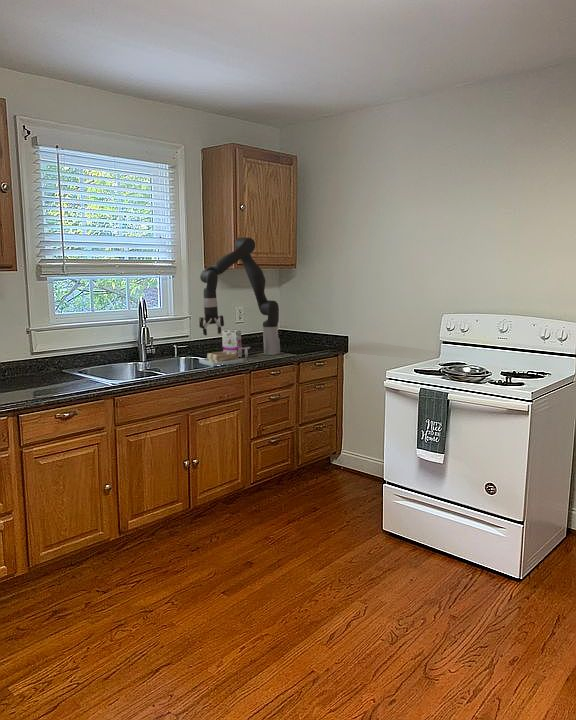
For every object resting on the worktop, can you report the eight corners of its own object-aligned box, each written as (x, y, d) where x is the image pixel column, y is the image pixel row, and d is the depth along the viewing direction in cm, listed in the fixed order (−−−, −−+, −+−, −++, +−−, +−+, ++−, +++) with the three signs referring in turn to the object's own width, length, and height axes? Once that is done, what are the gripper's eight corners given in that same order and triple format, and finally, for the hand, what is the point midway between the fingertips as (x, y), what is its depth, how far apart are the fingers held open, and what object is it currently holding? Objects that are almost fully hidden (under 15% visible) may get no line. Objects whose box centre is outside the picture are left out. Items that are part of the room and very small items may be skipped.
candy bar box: (242, 357, 370) (241, 330, 367) (238, 358, 365) (236, 331, 363) (227, 356, 375) (225, 329, 372) (222, 357, 370) (221, 330, 368)
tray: (228, 359, 362) (228, 355, 362) (243, 363, 347) (243, 359, 346) (199, 363, 353) (199, 359, 352) (213, 367, 337) (213, 363, 336)
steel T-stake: (249, 358, 363) (249, 346, 362) (251, 358, 362) (250, 347, 361) (241, 359, 361) (241, 347, 360) (243, 359, 359) (242, 348, 358)
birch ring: (238, 362, 347) (238, 353, 346) (218, 364, 340) (217, 356, 339) (227, 359, 359) (227, 351, 358) (207, 361, 352) (207, 353, 351)
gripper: (201, 307, 335) (203, 336, 338) (225, 305, 342) (226, 333, 345) (196, 306, 341) (198, 335, 344) (219, 304, 349) (220, 332, 351)
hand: (212, 334), depth 344 cm, fingers open, 8 cm apart
